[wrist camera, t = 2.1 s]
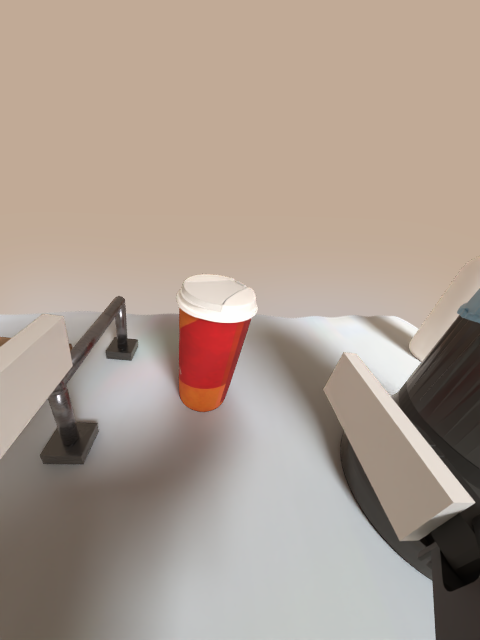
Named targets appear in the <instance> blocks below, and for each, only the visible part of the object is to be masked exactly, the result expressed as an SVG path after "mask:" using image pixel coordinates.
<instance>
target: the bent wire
mask: <svg viewBox="0 0 480 640" xmlns="http://www.w3.org/2000/svg"><path fill="white" fill-rule="evenodd" d="M114 318H115V321H116V333H117V337H115V338H114V339H113V341H112V343H111V344H110V346H109V347H108V349H107V350H106V355H107V358H108V359H119V360H130V361H131V360H132V358H133V356H134V354H135V352H136V350H137V348H138V340H136V339H127V325H126V308H125V299H124V298H123V297H120V296H118V297H116V298H115V299H114V300H113V301H112V302H111V303H110V305H109V306H108V307H107V308H106V309H105V311H104V312H103V313H102V314H101V315H100V317H99V318H98V319H97V320H96V321H95V323H94V324H93V325H92V326H91V327H90V329H89V330H88V331H87V332H86V333H85V334H84V336H83V337H82V338H81V339H80V340H79V342H78V343H77V344H76V345H75V346H74V348H73V349H72V350H71V351H70V353H71V359H72V364H73V366H72V367H71V369H70V370H69V371H68V373H67V374H66V375H65V376H64V378H63V379H62V380H61V382H60V383H59V384H58V385H57V387H56V388H55V389H54V391H53V392H52V393H51V394H50V396H49V397H48V400H49V403H50V406H51V409H52V412H53V415H54V418H55V421H56V424H57V429H56V431H55V432H54V434H53V436H52V437H51V439H50V440H49V442H48V443H47V445H46V447H45V448H44V450H43V451H42V453H41V454H40V457H41V459H42V462H43V464H84V462H85V459H86V457H87V455H88V453H89V451H90V449H91V447H92V444H93V442H94V440H95V438H96V436H97V434H98V425H97V423H78V422H76V421H75V417H74V413H73V409H72V405H71V401H70V397H69V393H68V389H67V386H66V384H67V382H68V381H69V380H70V378H71V377H72V376H73V374H74V373H75V371H76V370H77V369H78V367H79V366H80V365H81V363H82V362H83V360H84V359H85V358H86V356H87V355H88V354H89V352H90V351H91V349H92V348H93V347H94V345H95V344H96V342H97V341H98V340H99V338H100V337H101V336H102V334H103V333H104V331H105V330H106V329H107V327H108V326H109V325H110V323H111V322H112V320H113V319H114Z"/></svg>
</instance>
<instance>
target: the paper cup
mask: <svg viewBox="0 0 480 640" xmlns="http://www.w3.org/2000/svg"><path fill="white" fill-rule="evenodd" d="M176 300H177V303H178V305H179V308H180V309H179V310H180V311H179V393H180V398H181V400H182V402H183V403H184V404H185V405H186V406H187V407H188V408H190V409H192V410H195V411H199V412H207V411H211V410H214V409H216V408H218V407H219V406H220V405H221V404H222V403H223V401H224V399H225V396H226V394H227V391H228V388H229V385H230V382H231V379H232V376H233V373H234V370H235V367H236V364H237V361H238V358H239V355H240V352H241V349H242V346H243V343H244V340H245V336H246V333H247V330H248V327H249V324H250V321H251V318H252V317H253V316H255V314H256V313H257V309H258V308H257V304H256V295H255V293H254V291H253V289H252V288H251V287H250V288H247V287H246V285H245V284H242V283H241V282H239V281H235V279H233V278H230V277H226V276H221V275H214V274H213V275H212V274H200V275H194V276H191V277H189V278H187V279H186V280H185V281H184V282H183V284H182V287H181V289H180V290H179V291H178V293H177V295H176Z"/></svg>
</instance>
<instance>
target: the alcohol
mask: <svg viewBox="0 0 480 640" xmlns="http://www.w3.org/2000/svg"><path fill="white" fill-rule="evenodd" d="M479 288H480V256H478V257H476V258H474V259H472V260H470V261H469V262H468V263H467V264H466V265H464V266H463V267H462V268H461V270H460V271H459V273H458V274H457V276H456V277H455V278H454V280H453V281H452V283H451V284H450V285H449V287H448V288H447V290H446V291H445V293H444V294H443V295H442V297H441V298H440V300H439V301H438V303H437V304H436V305H435V307H434V308H433V310H432V311H431V313H430V314H429V315H428V317H427V318H426V320H425V321H424V323H423V324H422V325H421V327H420V328H419V330H418V331H417V333H416V334H415V335H414V337H413V338H412V340H411V341H410V343H409V349H410V352H411V353H412V354H413V355H414V356H415V357H416V358H417V359H418V360H420V361H421V362H422V361H423V360H424V358H425V357H426V356H427V355H428V353H429V352H430V351H431V350H432V348H433V347H434V346H435V345H436V343H437V342H438V341H439V340H440V338H441V337H442V336H443V335H444V333H445V332H446V331H447V330H448V328H449V327H450V326H451V325H452V323H453V322H454V321H455V320H456V318H457V317H458V316H459V314H458V313H457V311H458V309H459V307H460V306H461V305H463V304H465V303H467V302H468V301H469V300H470V299H471V298H472V297H473V295H474V294H475V293H476V292H477V291H478V290H479Z"/></svg>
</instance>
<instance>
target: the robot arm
mask: <svg viewBox="0 0 480 640" xmlns="http://www.w3.org/2000/svg"><path fill="white" fill-rule="evenodd" d="M457 313H458V314H459V316H458V317H457V318H456V320H455V321H454V322H453V323H452V325H451V326H450V327H449V328H448V330H447V331H446V332H445V333H444V335H443V336H442V337H441V338H440V340H439V341H438V342H437V343H436V345H435V346H434V347H433V348H432V350H431V351H430V352H429V353H428V355H427V356H426V357H425V358H424V360H423V361H422V362H421V363H420V365H419V366H418V367H417V368H416V370H415V371H414V372H413V374H412V375H411V376H410V377H409V379H408V380H407V381H406V383H405V384H404V385H403V387H402V388H401V389H400V390H399V391H398V392H397V393H396V394H394V395H392V396H390V395H389V394H388V393H387V391H386V390H385V389H384V388H383V386H382V385H381V384H380V383H379V381H378V380H377V379H376V378H375V376H374V375H373V374H372V373H371V371H370V370H369V369H368V368H367V366H366V365H365V364H364V363H363V361H362V360H361V359H360V358H359V356H358V355H357V354H354V353H346V352H343V354H342V356H341V358H340V360H339V361H338V363H337V365H336V367H335V369H334V371H333V372H332V374H331V376H330V378H329V380H328V382H327V383H326V385H325V387H324V389H323V390H324V392H325V394H326V396H327V398H328V400H329V402H330V404H331V406H332V408H333V410H334V412H335V414H336V416H337V418H338V420H339V422H340V424H341V426H342V428H343V430H344V434H343V437H342V441H341V461H342V466H343V469H344V473H345V476H346V479H347V481H348V484H349V486H350V488H351V490H352V492H353V494H354V496H355V498H356V500H357V502H358V504H359V505H360V507H361V508H362V510H363V512H364V513H365V515H366V516H367V518H368V519H369V520H370V522H371V523H372V524H373V526H374V527H375V528H376V530H377V531H378V532H379V533H380V534H381V536H382V537H383V538H384V539H385V540H386V541H387V542H388V543H389V544H390V546H391V547H392V548H393V549H394V550H395V551H396V552H397V553H398V554H400V555H401V556H402V557H403V558H404V559H405V560H406V561H407V562H408V563H410V564H411V565H412V566H413V567H414V568H416V569H417V570H418V571H420V572H421V573H422V574H424V575H425V576H426V577H428V578H429V579H431V580H433V597H434V615H435V633H436V640H480V288H479V290H478V291H477V292H476V293H475V294H474V295H473V297H472V298H471V299H470V300H469V301H468V302H467V303H465V304H463V305H461V306H460V307H459V309H458V311H457ZM72 366H73V364H72V359H71V353H70V348H69V343H68V337H67V332H66V326H65V321H64V316H57V315H49V314H42V315H41V316H40V317H38V318H37V319H36V320H34V321H33V322H32V323H31V324H29V325H28V326H27V327H25V328H24V329H23V330H22V331H20V332H19V333H18V334H16V335H15V336H14V337H12V338H11V339H10V340H9V341H7V342H6V343H5V344H3V345H2V346H1V347H0V459H1V458H2V456H3V455H4V454H5V453H6V451H7V450H8V449H9V447H10V446H11V445H12V444H13V442H14V441H15V440H16V438H17V437H18V436H19V435H20V433H21V432H22V431H23V429H24V428H25V427H26V425H27V424H28V423H29V422H30V420H31V419H32V418H33V416H34V415H35V414H36V413H37V411H38V410H39V409H40V407H41V406H42V405H43V404H44V402H45V401H46V400H47V398H48V397H49V396H50V394H51V393H52V392H53V391H54V389H55V388H56V387H57V385H58V384H59V383H60V382H61V380H62V379H63V378H64V376H65V375H66V374H67V373H68V371H69V370H70V369H71V367H72Z"/></svg>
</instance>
